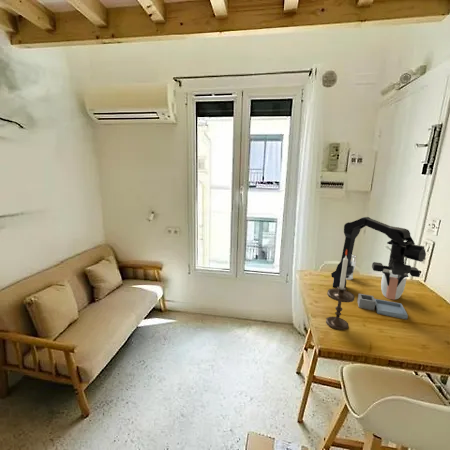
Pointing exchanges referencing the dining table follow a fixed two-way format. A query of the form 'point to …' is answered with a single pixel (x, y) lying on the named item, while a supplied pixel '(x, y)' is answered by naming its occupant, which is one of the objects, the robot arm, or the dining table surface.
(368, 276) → the dining table surface
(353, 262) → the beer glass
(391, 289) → the peg
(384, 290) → the mug
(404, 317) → the tray
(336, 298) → the candlestick
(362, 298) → the hollow square socket
